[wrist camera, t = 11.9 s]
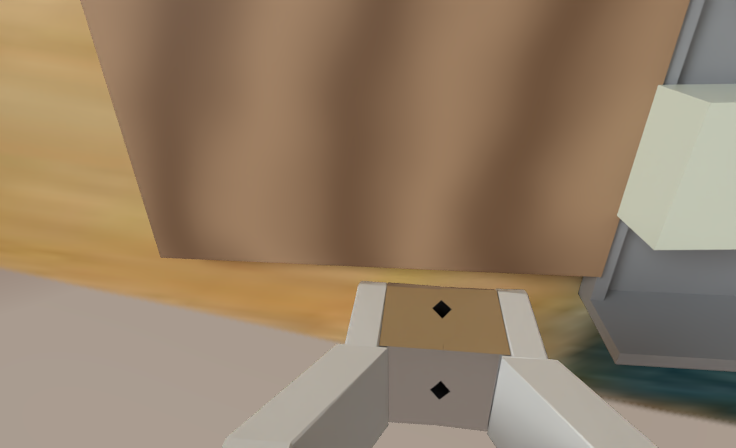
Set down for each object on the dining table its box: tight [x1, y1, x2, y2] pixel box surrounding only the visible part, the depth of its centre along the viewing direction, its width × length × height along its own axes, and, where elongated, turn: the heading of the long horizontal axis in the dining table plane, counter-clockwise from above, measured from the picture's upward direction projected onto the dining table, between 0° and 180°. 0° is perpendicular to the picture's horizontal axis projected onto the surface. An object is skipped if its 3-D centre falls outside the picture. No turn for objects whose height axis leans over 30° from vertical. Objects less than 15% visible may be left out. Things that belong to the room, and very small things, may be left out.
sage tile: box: [617, 84, 736, 250], centre depth 14 cm, size 5×5×2 cm
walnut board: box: [80, 0, 690, 277], centre depth 17 cm, size 20×11×2 cm, turn 91°
